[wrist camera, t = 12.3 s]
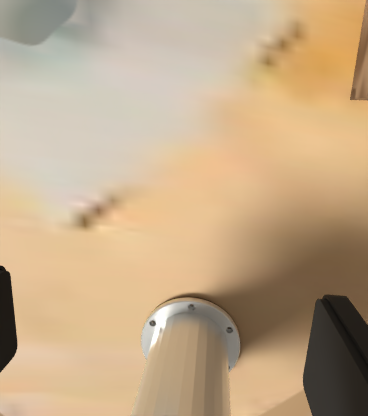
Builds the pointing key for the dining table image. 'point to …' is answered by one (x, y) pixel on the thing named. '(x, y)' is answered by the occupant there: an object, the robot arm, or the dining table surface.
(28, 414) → the dining table surface
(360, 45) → the box
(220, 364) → the robot arm
